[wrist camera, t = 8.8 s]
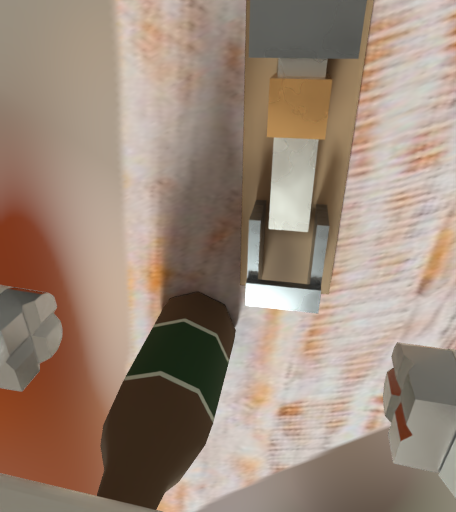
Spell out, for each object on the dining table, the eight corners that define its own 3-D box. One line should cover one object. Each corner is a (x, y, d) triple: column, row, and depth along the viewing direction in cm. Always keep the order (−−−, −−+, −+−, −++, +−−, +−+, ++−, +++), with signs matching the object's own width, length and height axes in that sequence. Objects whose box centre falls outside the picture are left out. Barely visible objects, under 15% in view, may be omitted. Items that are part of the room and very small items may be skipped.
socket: (360, -21, 23) (372, -36, 19) (350, 56, 25) (358, 59, 21) (261, -19, 24) (250, -33, 20) (258, 55, 26) (248, 57, 21)
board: (377, -40, 23) (380, -43, 22) (328, 287, 34) (328, 294, 33) (249, -37, 24) (247, -40, 23) (241, 279, 35) (240, 285, 34)
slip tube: (337, -1, 23) (342, -10, 19) (312, 217, 30) (312, 243, 26) (280, 0, 24) (274, -8, 20) (267, 213, 31) (261, 239, 27)
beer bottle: (198, 274, 36) (46, 590, 15) (253, 330, 38) (184, 678, 17) (145, 314, 39) (-39, 615, 19) (198, 363, 41) (85, 687, 21)
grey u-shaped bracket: (327, 204, 30) (329, 230, 26) (316, 283, 33) (317, 316, 29) (255, 199, 30) (247, 224, 26) (252, 276, 34) (245, 308, 30)
